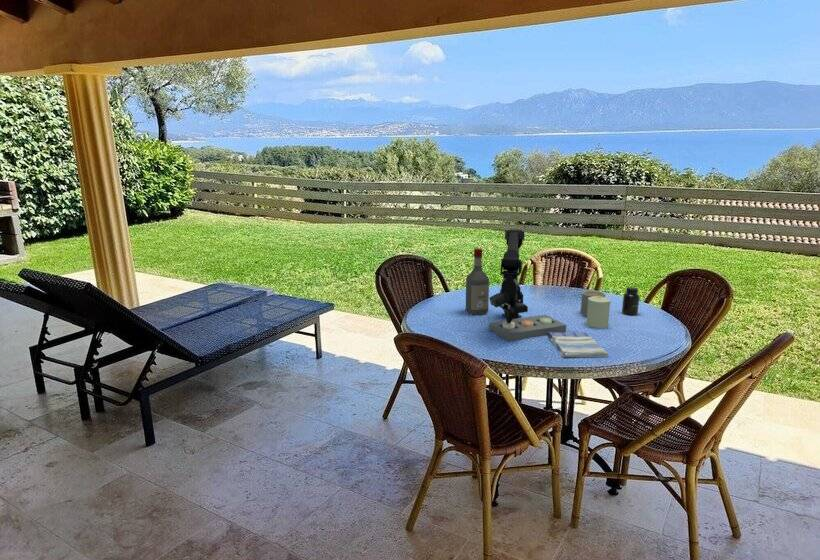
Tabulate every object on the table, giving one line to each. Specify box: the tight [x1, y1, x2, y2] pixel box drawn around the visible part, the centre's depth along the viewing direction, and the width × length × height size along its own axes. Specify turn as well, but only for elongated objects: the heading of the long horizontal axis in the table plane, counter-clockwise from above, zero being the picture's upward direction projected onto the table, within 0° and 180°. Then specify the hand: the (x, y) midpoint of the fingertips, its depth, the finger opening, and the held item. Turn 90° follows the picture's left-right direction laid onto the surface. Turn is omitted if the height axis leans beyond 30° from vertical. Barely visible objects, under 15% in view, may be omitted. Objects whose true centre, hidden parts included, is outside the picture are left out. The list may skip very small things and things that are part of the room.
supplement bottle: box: [621, 286, 640, 316], centre depth 241 cm, size 7×7×12 cm
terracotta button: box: [521, 320, 534, 327], centre depth 221 cm, size 5×5×3 cm
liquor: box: [465, 248, 490, 316], centre depth 243 cm, size 9×9×30 cm
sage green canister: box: [585, 296, 612, 329], centre depth 227 cm, size 9×9×12 cm
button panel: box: [488, 314, 567, 342], centre depth 221 cm, size 15×28×3 cm, turn 110°
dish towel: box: [547, 331, 609, 358], centre depth 204 cm, size 17×24×3 cm
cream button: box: [502, 321, 515, 330], centre depth 218 cm, size 5×5×3 cm
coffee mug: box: [580, 289, 606, 318], centre depth 242 cm, size 13×10×10 cm
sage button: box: [540, 318, 552, 324], centre depth 224 cm, size 5×5×3 cm
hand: (508, 323), depth 218 cm, fingers closed, pressing on cream button
